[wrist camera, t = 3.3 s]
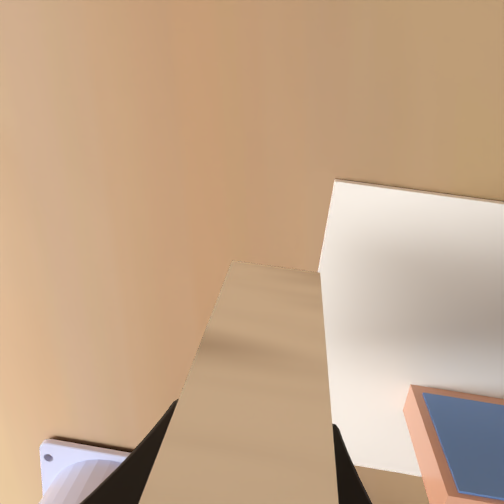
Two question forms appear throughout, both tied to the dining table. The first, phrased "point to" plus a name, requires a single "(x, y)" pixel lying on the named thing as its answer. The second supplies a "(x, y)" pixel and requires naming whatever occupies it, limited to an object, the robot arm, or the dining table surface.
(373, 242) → the mat
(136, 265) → the dining table surface
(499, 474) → the tile
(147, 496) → the tall beige block
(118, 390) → the dining table surface
